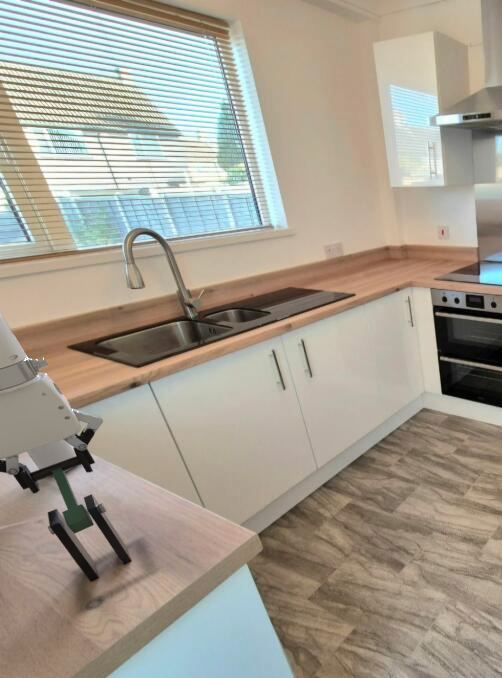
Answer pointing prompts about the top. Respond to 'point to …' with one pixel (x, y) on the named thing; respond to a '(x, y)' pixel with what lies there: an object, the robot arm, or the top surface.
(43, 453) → the travel mug
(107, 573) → the top surface
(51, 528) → the bracket
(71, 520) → the lever
